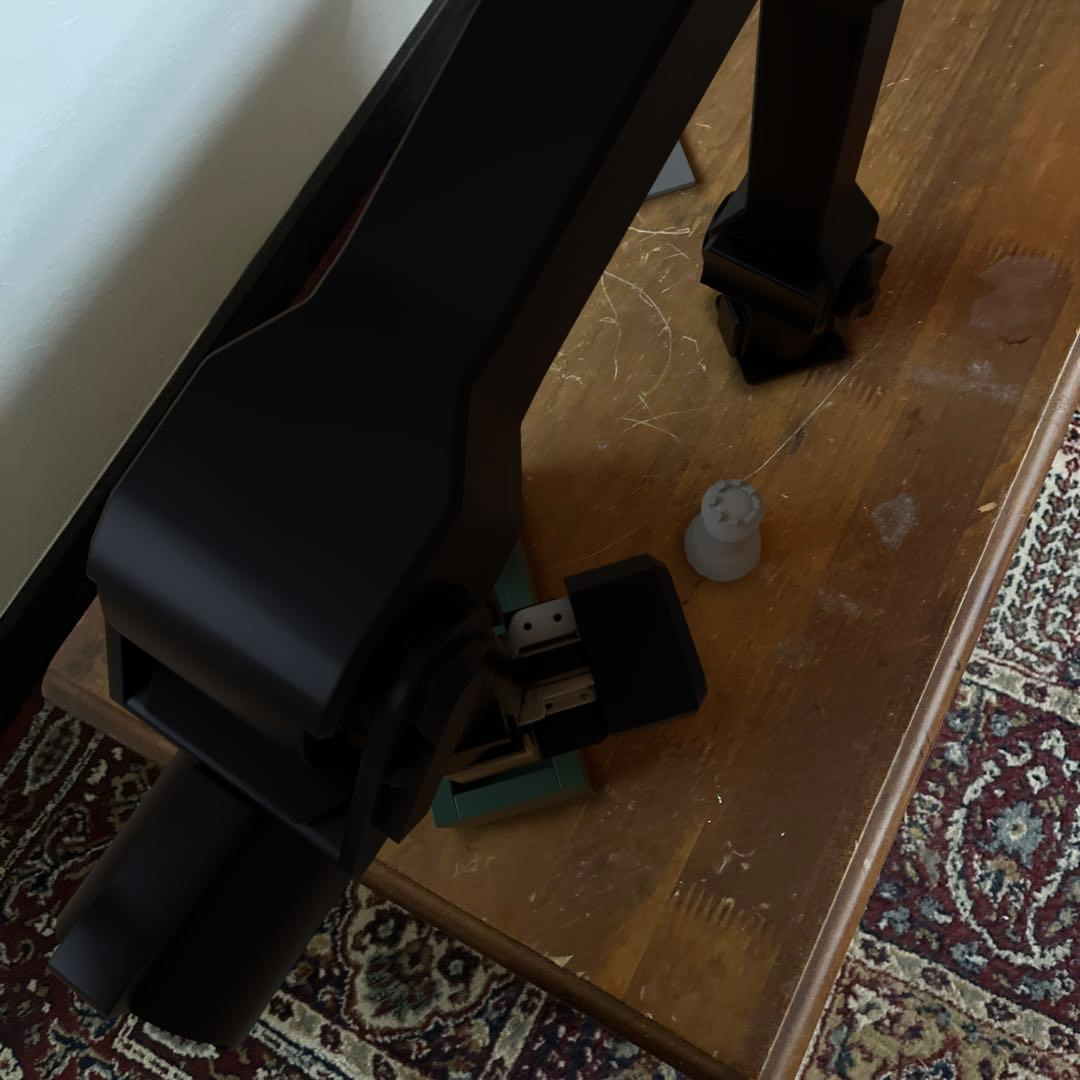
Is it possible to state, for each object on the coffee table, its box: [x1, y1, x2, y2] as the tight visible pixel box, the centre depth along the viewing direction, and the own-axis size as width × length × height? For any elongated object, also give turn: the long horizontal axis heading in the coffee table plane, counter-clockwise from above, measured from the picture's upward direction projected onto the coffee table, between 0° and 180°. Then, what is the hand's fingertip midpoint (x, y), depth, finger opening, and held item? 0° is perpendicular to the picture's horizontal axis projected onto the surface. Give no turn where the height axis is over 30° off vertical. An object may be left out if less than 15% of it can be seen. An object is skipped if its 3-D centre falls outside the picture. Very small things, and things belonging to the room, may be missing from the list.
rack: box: [429, 535, 594, 830], centre depth 52 cm, size 7×20×8 cm, turn 16°
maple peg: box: [445, 725, 541, 784], centre depth 43 cm, size 4×4×8 cm
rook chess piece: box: [683, 478, 766, 583], centre depth 53 cm, size 4×4×8 cm
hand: (482, 724), depth 44 cm, fingers closed on maple peg, 4 cm apart
